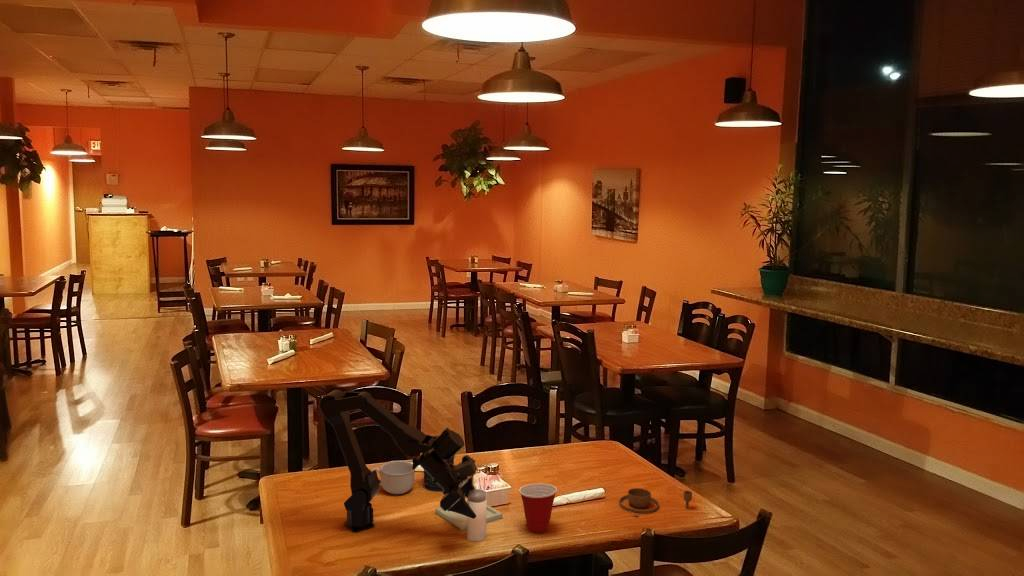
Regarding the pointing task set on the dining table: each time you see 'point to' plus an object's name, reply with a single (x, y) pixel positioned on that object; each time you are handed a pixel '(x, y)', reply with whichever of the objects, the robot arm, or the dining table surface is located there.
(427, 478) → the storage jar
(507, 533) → the dining table surface
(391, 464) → the teacup
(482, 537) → the salt shaker
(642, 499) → the place setting
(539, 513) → the plastic cup
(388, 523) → the dining table surface
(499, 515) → the tray
